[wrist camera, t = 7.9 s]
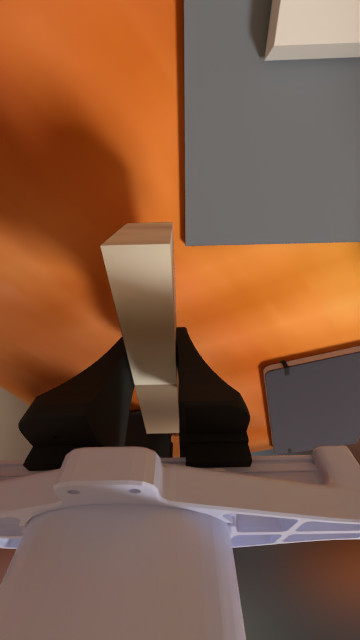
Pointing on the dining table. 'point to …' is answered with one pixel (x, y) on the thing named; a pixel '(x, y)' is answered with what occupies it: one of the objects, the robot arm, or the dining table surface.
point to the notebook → (314, 401)
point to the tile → (313, 29)
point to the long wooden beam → (147, 316)
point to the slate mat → (265, 135)
